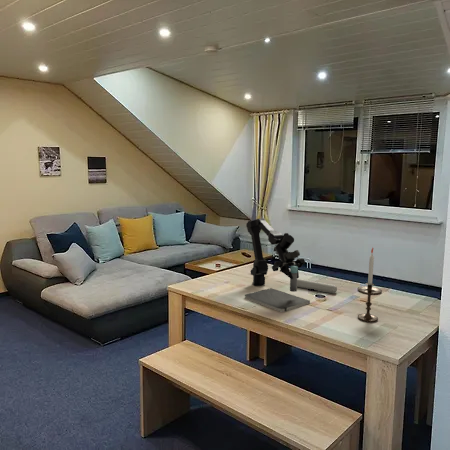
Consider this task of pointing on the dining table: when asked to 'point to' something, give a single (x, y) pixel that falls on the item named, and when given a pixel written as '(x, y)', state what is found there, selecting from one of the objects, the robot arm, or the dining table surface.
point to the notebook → (276, 299)
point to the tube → (316, 286)
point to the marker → (293, 281)
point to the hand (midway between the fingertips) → (295, 278)
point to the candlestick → (369, 293)
